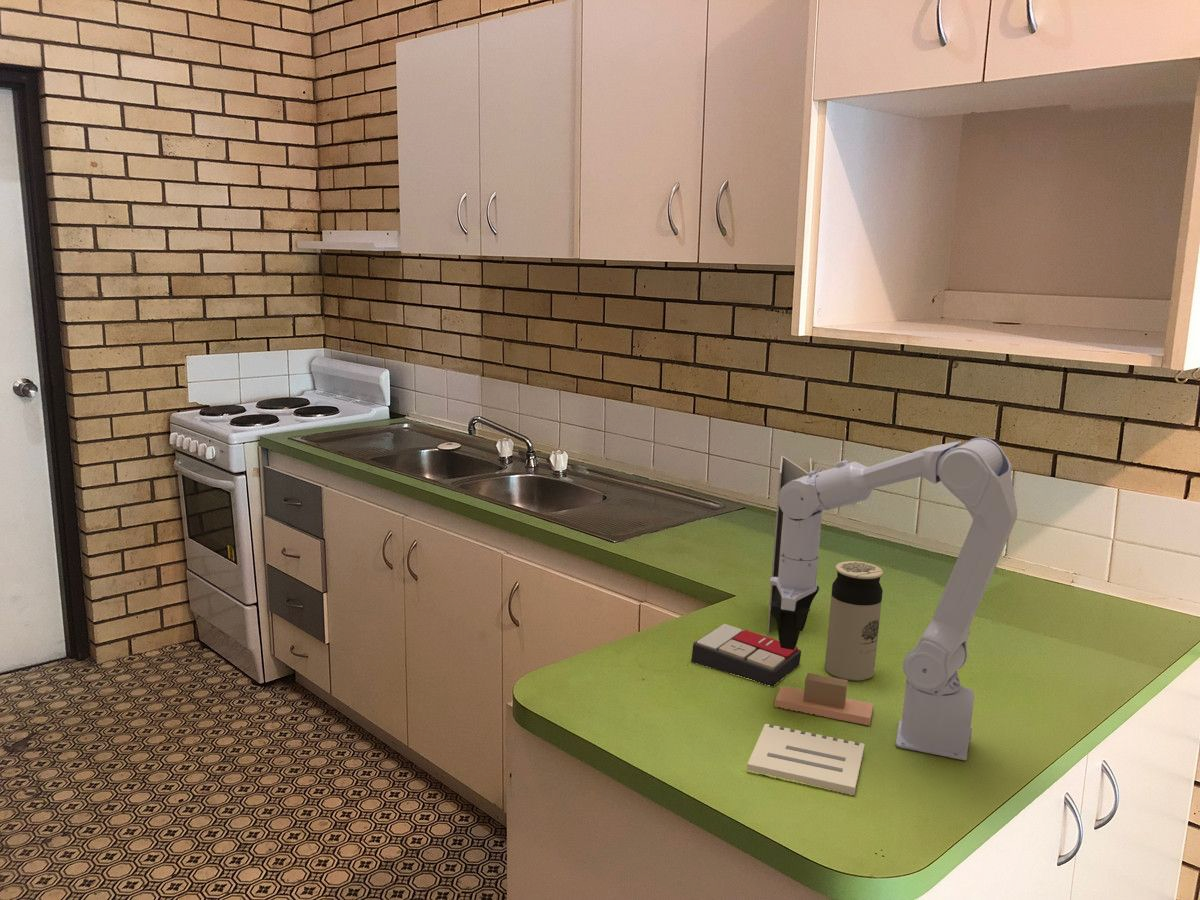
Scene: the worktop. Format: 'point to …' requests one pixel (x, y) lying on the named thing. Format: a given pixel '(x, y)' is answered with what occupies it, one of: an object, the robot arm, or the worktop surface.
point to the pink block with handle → (825, 700)
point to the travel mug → (854, 621)
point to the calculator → (745, 654)
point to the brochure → (787, 474)
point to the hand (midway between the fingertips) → (791, 638)
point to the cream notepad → (808, 758)
